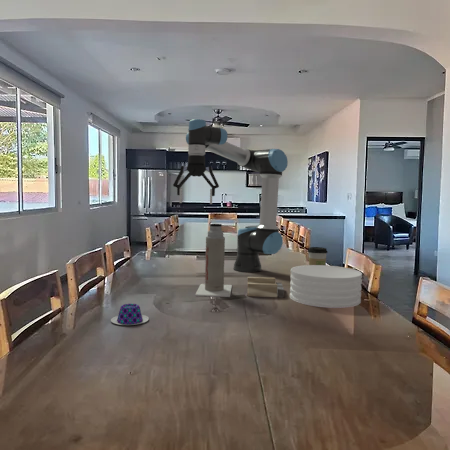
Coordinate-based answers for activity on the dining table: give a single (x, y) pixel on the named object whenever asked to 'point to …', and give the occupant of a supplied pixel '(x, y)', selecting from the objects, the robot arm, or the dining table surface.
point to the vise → (264, 287)
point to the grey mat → (223, 293)
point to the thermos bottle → (215, 259)
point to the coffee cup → (317, 255)
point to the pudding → (129, 315)
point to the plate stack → (325, 286)
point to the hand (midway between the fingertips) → (195, 203)
